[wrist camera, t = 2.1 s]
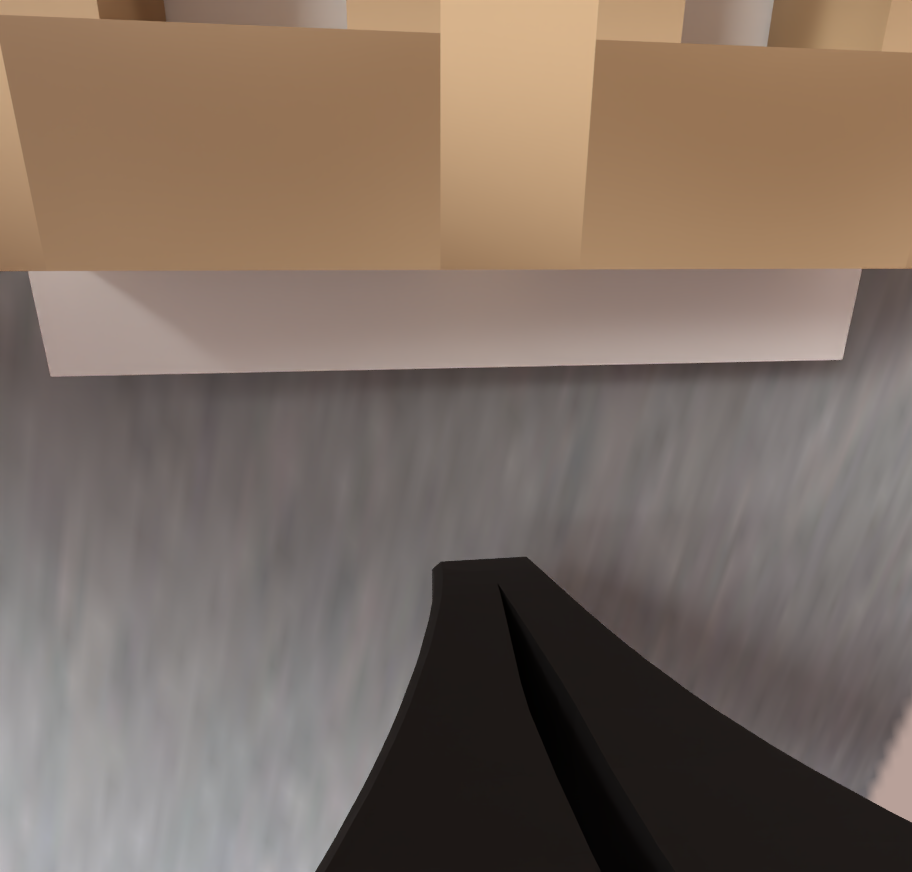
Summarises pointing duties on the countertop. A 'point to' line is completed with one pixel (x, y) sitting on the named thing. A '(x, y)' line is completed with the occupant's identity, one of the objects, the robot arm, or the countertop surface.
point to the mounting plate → (439, 289)
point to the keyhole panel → (454, 139)
